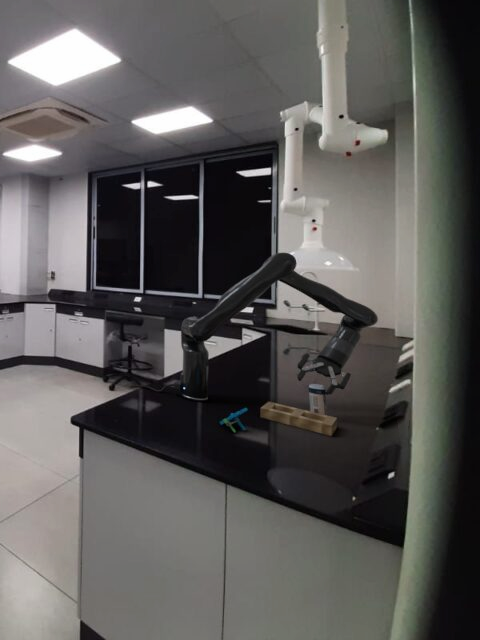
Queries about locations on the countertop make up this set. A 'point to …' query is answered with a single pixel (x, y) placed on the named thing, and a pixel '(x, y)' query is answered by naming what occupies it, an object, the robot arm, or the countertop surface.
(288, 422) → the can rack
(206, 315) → the robot arm
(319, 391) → the beer can
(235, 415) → the blue-green rod frame
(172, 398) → the countertop surface
